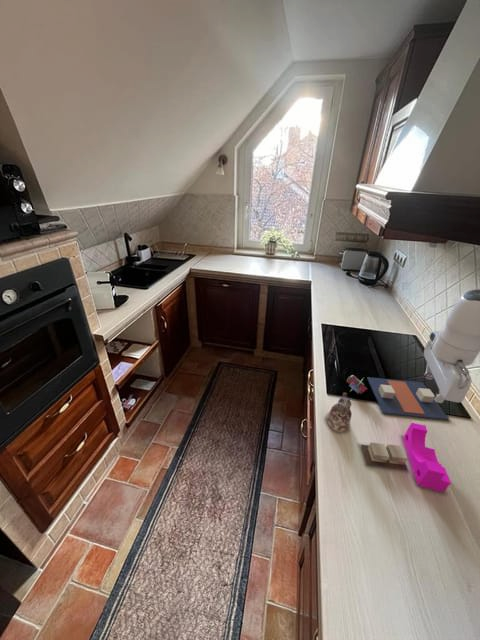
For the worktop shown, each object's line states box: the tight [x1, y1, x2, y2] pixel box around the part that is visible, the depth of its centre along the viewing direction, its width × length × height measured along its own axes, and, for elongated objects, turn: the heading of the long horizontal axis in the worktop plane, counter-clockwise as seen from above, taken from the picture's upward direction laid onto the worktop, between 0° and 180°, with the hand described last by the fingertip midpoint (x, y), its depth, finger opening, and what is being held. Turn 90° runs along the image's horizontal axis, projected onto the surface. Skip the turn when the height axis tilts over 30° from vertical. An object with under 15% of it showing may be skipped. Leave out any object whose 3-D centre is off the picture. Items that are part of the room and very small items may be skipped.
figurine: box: [326, 392, 352, 433], centre depth 83 cm, size 7×7×12 cm
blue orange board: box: [366, 376, 450, 421], centre depth 96 cm, size 22×18×4 cm
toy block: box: [402, 422, 452, 493], centre depth 73 cm, size 15×6×8 cm, turn 165°
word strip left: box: [360, 441, 409, 471], centre depth 75 cm, size 11×6×4 cm, turn 84°
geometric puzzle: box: [346, 374, 369, 395], centre depth 98 cm, size 7×7×8 cm
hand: (432, 388), depth 72 cm, fingers open, 8 cm apart
